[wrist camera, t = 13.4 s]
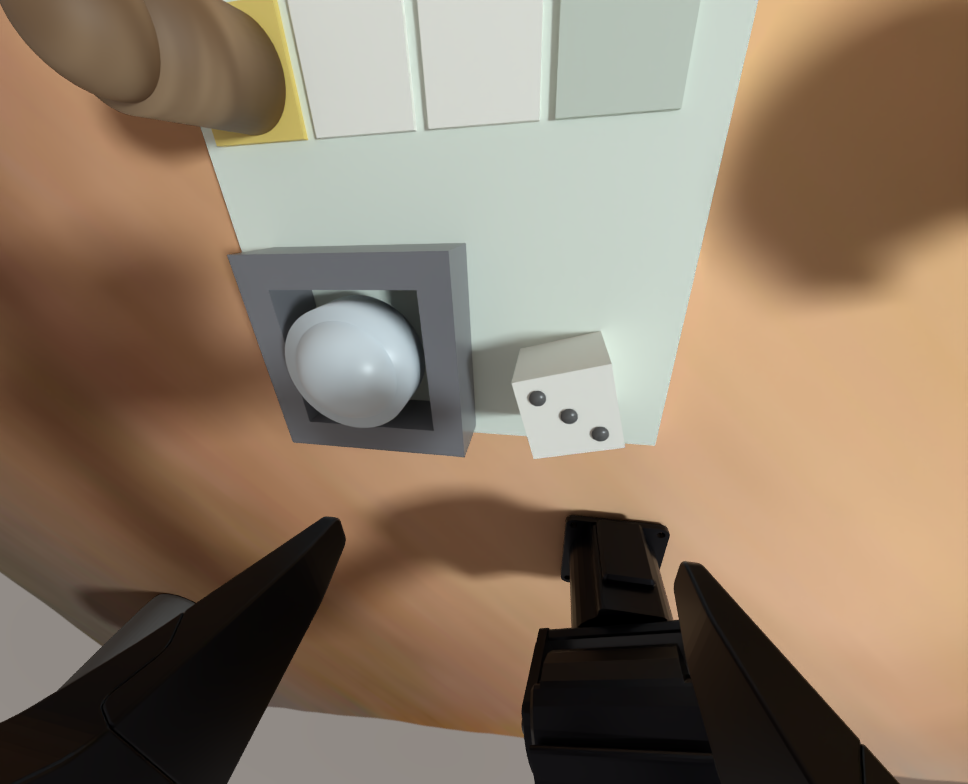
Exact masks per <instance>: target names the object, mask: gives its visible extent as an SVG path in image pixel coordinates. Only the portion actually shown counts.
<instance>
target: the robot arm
mask: <svg viewBox="0 0 968 784" xmlns="http://www.w3.org/2000/svg"><path fill="white" fill-rule="evenodd" d="M669 537H670V534H669V531H668V528H667V527H666V526H663V525H657V524H648V523H639V522H630V521H621V520H612V519H602V518H593V517H584V516H575V515H571V516H568V517H567V519H566V525H565V535H564V545H563V555H562V565H561V579H562V580H564V581H566V582H570V596H571V626H572V628H563V629H549V628H540V629H539V632H538V637H537V642H536V644H535V648H534V653H533V658H532V662H531V667H530V672H529V676H528V681H527V686H526V690H525V695H524V700H523V704H522V731H523V734H524V740H525V747H526V752H527V757H528V761H529V765H530V767H531V770H532V773H533V775H534V780H535V784H900V783H899V782H898V781H897V780H896V779H895V778H894V777H893V776H892V774H891V773H890V772H889V771H888V770H887V769H886V768H885V767H884V766H883V765H882V763H881V762H880V761H879V760H878V759H877V758H876V757H875V756H874V755H873V753H872V752H871V751H870V750H869V749H868V748H867V747H866V746H865V745H863V744H861V743H860V740H859V738H858V737H857V736H856V735H855V734H854V733H853V731H852V730H851V729H850V728H849V727H848V726H847V725H846V724H845V723H844V721H843V720H842V719H841V718H840V717H839V716H838V715H837V714H836V713H835V711H834V710H833V709H832V708H831V707H830V706H829V705H828V704H827V703H826V701H825V700H824V699H823V698H822V697H821V696H820V695H819V694H818V693H817V691H816V690H815V689H814V688H813V687H812V686H811V685H810V684H809V683H808V681H807V680H806V679H805V678H804V677H803V676H802V675H801V674H800V673H799V671H798V670H797V669H796V668H795V667H794V666H793V665H792V664H791V663H790V661H789V660H788V659H787V658H786V657H785V656H784V655H783V654H782V653H781V652H780V650H779V649H778V648H777V647H776V646H775V645H774V644H773V643H772V642H771V640H770V639H769V638H768V637H767V636H766V635H765V634H764V633H763V632H762V630H761V629H760V628H759V627H758V626H757V625H756V624H755V623H754V622H753V620H752V619H751V618H750V617H749V616H748V615H747V614H746V613H745V612H744V610H743V609H742V608H741V607H740V606H739V605H738V604H737V603H736V602H735V600H734V599H733V598H732V597H731V596H730V595H729V594H728V593H727V592H726V590H725V589H724V588H723V587H722V586H721V585H720V584H719V583H718V582H717V580H716V579H715V578H714V577H713V576H712V575H711V574H710V573H709V572H708V570H707V569H706V568H705V567H704V566H703V565H701V564H700V563H695V562H687V561H683V562H682V563H681V564H680V566H679V569H678V572H677V575H676V578H675V582H674V594H675V600H676V606H677V611H678V617H679V620H673V617H672V613H671V610H670V606H669V603H668V599H667V595H666V592H665V588H664V585H663V581H662V577H661V574H660V567H661V563H662V560H663V557H664V553H665V550H666V547H667V543H668V540H669ZM345 541H346V538H345V534H344V531H343V527H342V524H341V521H340V519H338V518H336V517H323V518H321V519H320V520H318V521H317V522H315V523H314V524H312V525H311V526H309V527H308V528H306V529H305V530H303V531H302V532H300V533H299V534H298V535H296V536H295V537H293V538H292V539H290V540H289V541H287V542H286V543H284V544H283V545H281V546H280V547H278V548H277V549H275V550H274V551H272V552H271V553H269V554H268V555H266V556H265V557H263V558H262V559H261V560H259V561H258V562H256V563H255V564H253V565H252V566H250V567H249V568H247V569H246V570H244V571H243V572H241V573H240V574H238V575H237V576H235V577H234V578H232V579H231V580H229V581H228V582H227V583H225V584H224V585H222V586H221V587H219V588H218V589H216V590H215V591H213V592H212V593H210V594H209V595H207V596H206V597H204V598H203V599H201V600H200V601H198V602H197V603H195V604H194V605H192V606H191V607H190V608H188V609H187V610H186V611H185V613H184V612H183V613H180V614H179V615H178V616H176V617H175V618H173V619H172V620H170V621H169V622H167V623H166V624H164V625H163V626H161V627H160V628H158V629H157V630H155V631H154V632H152V633H150V634H149V635H147V636H146V637H144V638H143V639H141V640H140V641H138V642H137V643H135V644H134V645H132V646H130V647H129V648H127V649H125V650H124V651H122V652H121V653H119V654H117V655H116V656H114V657H113V658H111V659H109V660H108V661H106V662H104V663H103V664H101V665H99V666H98V667H96V668H94V669H93V670H91V671H90V672H88V673H86V674H85V675H83V676H81V677H80V678H78V679H76V680H75V681H73V682H71V683H70V684H68V685H66V686H65V687H63V688H61V689H60V690H58V691H57V692H55V693H53V694H51V695H50V696H48V697H46V698H45V699H43V700H42V701H40V702H38V703H37V704H35V705H33V706H31V707H30V708H28V709H26V710H24V711H23V712H21V713H19V714H17V715H15V716H14V717H11V718H9V719H8V720H5V721H3V722H1V723H0V784H227V783H228V781H229V779H230V777H231V775H232V773H233V771H234V769H235V767H236V766H237V764H238V762H239V760H240V757H241V756H242V754H243V752H244V750H245V748H246V746H247V744H248V742H249V741H250V739H251V737H252V735H253V733H254V731H255V729H256V727H257V725H258V723H259V721H260V719H261V717H262V715H263V714H264V711H265V710H266V708H267V706H268V704H269V702H270V700H271V698H272V696H273V694H274V692H275V691H276V689H277V687H278V685H279V683H280V681H281V679H282V677H283V675H284V673H285V671H286V669H287V667H288V666H289V664H290V662H291V660H292V658H293V656H294V654H295V652H296V650H297V648H298V646H299V644H300V642H301V640H302V639H303V637H304V635H305V633H306V631H307V629H308V627H309V625H310V623H311V621H312V619H313V617H314V615H315V614H316V612H317V610H318V608H319V606H320V604H321V602H322V600H323V597H324V595H325V593H326V590H327V588H328V585H329V583H330V581H331V578H332V576H333V573H334V571H335V568H336V566H337V563H338V561H339V558H340V556H341V554H342V551H343V549H344V546H345Z"/></svg>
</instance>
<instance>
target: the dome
mask: <svg viewBox="0 0 968 784" xmlns="http://www.w3.org/2000/svg"><path fill="white" fill-rule="evenodd" d="M285 359H286V364H287V368H288V371H289V374H290V377H291V379H292V381H293V383H294V385H295V386H296V388H297V389H298V391H299V392H300V394H301V395H302V396H303V397H304V399H305V400H306V401H307V402H308V403H309V404H310V405H311V406H313V407H314V408H315V409H316V410H317V411H319V412H320V413H321V414H323V415H324V416H326V417H328V418H329V419H331V420H334V421H336V422H338V423H341V424H344V425H347V426H351V427H358V428H370V427H376V426H380V425H383V424H385V423H387V422H389V421H391V420H392V419H393V418H395V417H396V416H397V415H398V414H399V413H400V411H401V410H402V409H403V408H404V406H405V405H406V404H407V402H408V401H409V399H410V398H411V397H412V395H413V394H414V393H415V391H416V390H417V389H418V387H419V385H420V384H421V381H422V379H423V376H424V372H425V355H424V349H423V346H422V343H421V340H420V338H419V336H418V334H417V332H416V331H415V329H414V327H413V326H412V325H411V324H410V322H409V321H408V320H407V319H406V318H405V317H404V316H403V315H402V314H401V313H400V312H399V311H398V310H396V309H395V308H394V307H392V306H391V305H389V304H387V303H385V302H383V301H381V300H379V299H376V298H373V297H369V296H364V295H349V296H344V297H341V298H338V299H336V300H333V301H331V302H329V303H327V304H324V305H322V306H320V307H318V308H315V309H313V310H311V311H309V312H307V313H305V314H303V315H302V316H301V317H299V318H298V319H297V320H296V321H295V322H294V324H293V325H292V326H291V328H290V330H289V332H288V335H287V338H286V343H285Z"/></svg>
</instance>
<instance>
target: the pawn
mask: <svg viewBox="0 0 968 784" xmlns="http://www.w3.org/2000/svg"><path fill="white" fill-rule="evenodd" d="M0 4H1V6H2V8H3V10H4V12H5V14H6V16H7V18H8V19H9V21H10V22H11V24H12V25H13V27H14V28H15V30H16V31H17V32H18V34H19V35H20V36H21V38H22V39H23V40H24V41H25V43H26V44H27V45H28V46H29V47H30V48H31V49H32V50H33V51H34V52H35V54H36V55H37V56H38V57H40V58H41V59H42V60H43V61H44V62H45V63H46V64H47V65H48V66H50V67H51V68H52V69H53V70H55V71H56V72H57V73H58V74H60V75H61V76H62V77H64V78H65V79H67V80H69V81H70V82H72V83H73V84H75V85H76V86H78V87H80V88H82V89H84V90H86V91H88V92H90V93H92V94H94V95H95V96H97V97H98V98H99V99H100V100H101V101H103V102H104V103H105V104H107V105H108V106H110V107H111V108H113V109H115V110H117V111H119V112H122V113H124V114H127V115H132V116H138V117H144V118H150V119H156V120H162V121H168V122H174V123H180V124H186V125H193V126H199V127H205V128H211V129H217V130H223V131H229V132H235V133H241V134H248V135H262V134H265V133H267V132H269V131H271V130H272V129H273V128H274V127H275V126H276V125H277V123H278V122H279V120H280V118H281V116H282V113H283V111H284V106H285V99H286V85H285V77H284V72H283V68H282V64H281V61H280V58H279V56H278V53H277V51H276V49H275V47H274V45H273V43H272V41H271V40H270V38H269V36H268V35H267V33H266V32H265V31H264V29H263V28H262V27H261V26H260V25H259V24H258V23H257V22H256V21H255V20H254V19H253V18H252V17H251V16H249V15H248V14H247V13H245V12H243V11H241V10H239V9H238V8H236V7H234V6H232V5H230V4H228V3H227V2H225V1H223V0H0Z"/></svg>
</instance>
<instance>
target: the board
mask: <svg viewBox="0 0 968 784" xmlns="http://www.w3.org/2000/svg"><path fill="white" fill-rule="evenodd" d="M223 1H225V2H227V3H228V4H230V5H232V6H234V7H236V8H238V9H239V10H241V11H243V12H245V13H247V14H248V15H249V16H251V17H252V18H253V19H254V20H255V21H256V22H257V23H258V24H259V25H260V26H261V27H262V28H263V29H264V31H265V32H266V33H267V35H268V36H269V38H270V40H271V41H272V43H273V45H274V47H275V49H276V51H277V53H278V56H279V58H280V61H281V64H282V68H283V72H284V77H285V85H286V99H285V106H284V111H283V113H282V116H281V118H280V120H279V122H278V123H277V125H276V126H275V127H274V128H273V129H272V130H271V131H269V132H267V133H265V134H262V135H248V134H241V133H235V132H229V131H223V130H217V129H211V128H205V127H201V130H202V133H203V136H204V139H205V142H206V145H207V148H208V151H209V154H210V157H211V160H212V163H213V166H214V169H215V172H216V175H217V178H218V181H219V184H220V187H221V190H222V193H223V196H224V199H225V202H226V205H227V208H228V211H229V214H230V217H231V220H232V223H233V226H234V229H235V232H236V235H237V238H238V241H239V244H240V247H241V250H242V252H248V251H254V250H260V249H266V248H273V247H305V246H349V245H394V244H439V243H466V255H467V272H468V290H469V308H470V326H471V344H472V361H473V379H474V397H475V415H476V427H475V430H474V432H477V433H491V434H504V435H518V436H527V434H526V431H525V427H524V424H523V421H522V417H521V414H520V411H519V407H518V404H517V400H516V397H515V394H514V390H513V387H512V379H513V375H514V371H515V367H516V363H517V359H518V355H519V351H520V349H521V348H525V347H530V346H534V345H539V344H543V343H548V342H552V341H557V340H561V339H566V338H571V337H575V336H580V335H584V334H589V333H593V332H598V331H601V333H602V336H603V339H604V342H605V345H606V348H607V351H608V354H609V357H610V360H611V363H612V368H613V375H614V381H615V387H616V393H617V400H618V406H619V412H620V418H621V425H622V431H623V437H624V443H627V444H640V445H654V446H655V443H656V439H657V435H658V431H659V426H660V422H661V418H662V413H663V409H664V405H665V400H666V396H667V392H668V387H669V383H670V379H671V374H672V370H673V366H674V362H675V357H676V353H677V349H678V344H679V340H680V336H681V331H682V327H683V323H684V318H685V314H686V310H687V305H688V301H689V297H690V293H691V288H692V284H693V280H694V275H695V271H696V267H697V262H698V258H699V254H700V249H701V245H702V241H703V236H704V232H705V228H706V224H707V219H708V215H709V211H710V206H711V202H712V198H713V193H714V189H715V185H716V180H717V176H718V172H719V167H720V163H721V159H722V155H723V150H724V146H725V142H726V137H727V133H728V129H729V124H730V120H731V116H732V111H733V107H734V103H735V98H736V94H737V90H738V86H739V81H740V77H741V73H742V68H743V64H744V60H745V55H746V51H747V47H748V42H749V38H750V34H751V29H752V25H753V21H754V17H755V12H756V8H757V4H758V0H223ZM312 292H313V296H314V299H315V303H316V307H317V308H318V307H320V306H322V305H324V304H327V303H329V302H331V301H333V300H336V299H338V298H341V297H344V296H349V295H364V296H369V297H373V298H376V299H379V300H381V301H383V302H385V303H387V304H389V305H391V306H392V307H394V308H395V309H396V310H398V311H399V312H400V313H401V314H402V315H403V316H404V317H405V318H406V319H407V320H408V321H409V322H410V324H411V325H412V326H413V327H414V329H415V331H416V332H417V334H418V336H419V338H420V340H421V343H422V346H423V339H422V331H421V323H420V314H419V306H418V298H417V290H312ZM423 349H424V347H423ZM409 400H425V401H430V395H429V387H428V379H427V371H426V363H425V372H424V376H423V379H422V381H421V384H420V385H419V387H418V389H417V390H416V391H415V393H414V394H413V395H412V397H411V398H410V399H409Z"/></svg>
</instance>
